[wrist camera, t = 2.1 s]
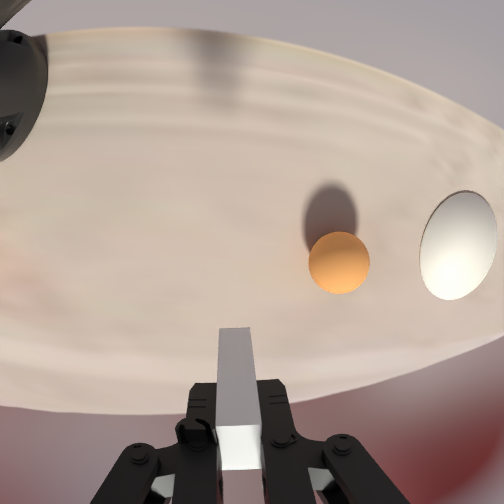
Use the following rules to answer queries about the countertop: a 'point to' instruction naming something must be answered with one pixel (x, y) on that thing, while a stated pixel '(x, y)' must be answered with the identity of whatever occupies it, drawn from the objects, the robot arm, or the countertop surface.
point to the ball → (339, 262)
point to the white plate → (458, 246)
